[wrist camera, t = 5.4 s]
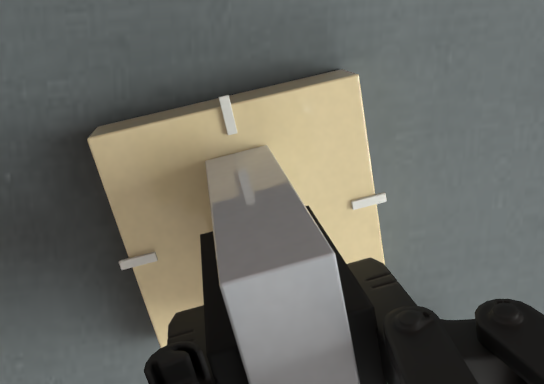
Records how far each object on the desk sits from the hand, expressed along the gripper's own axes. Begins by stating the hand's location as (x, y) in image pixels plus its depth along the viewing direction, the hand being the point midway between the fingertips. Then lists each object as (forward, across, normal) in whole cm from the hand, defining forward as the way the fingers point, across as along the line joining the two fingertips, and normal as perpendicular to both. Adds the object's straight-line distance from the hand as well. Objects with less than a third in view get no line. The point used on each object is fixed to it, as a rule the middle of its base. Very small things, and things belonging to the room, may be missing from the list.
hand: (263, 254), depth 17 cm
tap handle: (+2, 0, 0) cm, 2 cm away
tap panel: (+4, 0, 0) cm, 4 cm away
